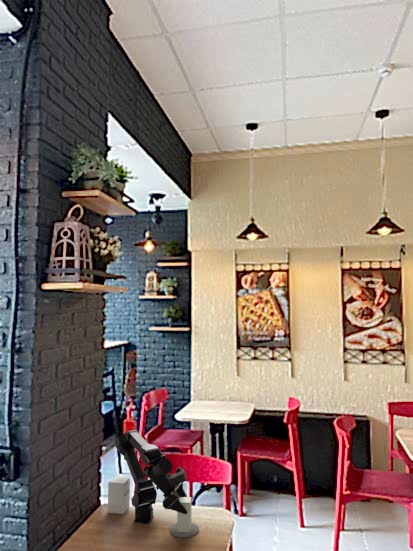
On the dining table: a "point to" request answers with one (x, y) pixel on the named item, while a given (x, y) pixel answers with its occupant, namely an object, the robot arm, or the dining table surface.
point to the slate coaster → (184, 534)
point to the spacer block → (184, 516)
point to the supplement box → (118, 495)
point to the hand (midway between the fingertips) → (188, 507)
